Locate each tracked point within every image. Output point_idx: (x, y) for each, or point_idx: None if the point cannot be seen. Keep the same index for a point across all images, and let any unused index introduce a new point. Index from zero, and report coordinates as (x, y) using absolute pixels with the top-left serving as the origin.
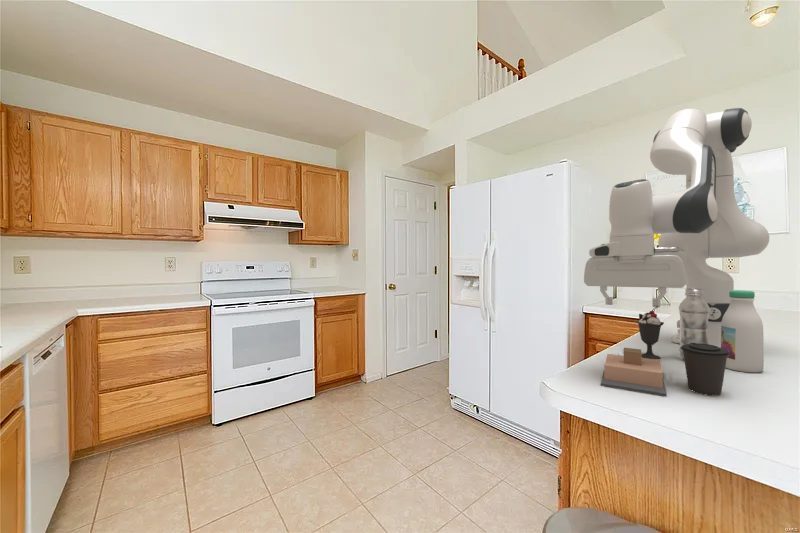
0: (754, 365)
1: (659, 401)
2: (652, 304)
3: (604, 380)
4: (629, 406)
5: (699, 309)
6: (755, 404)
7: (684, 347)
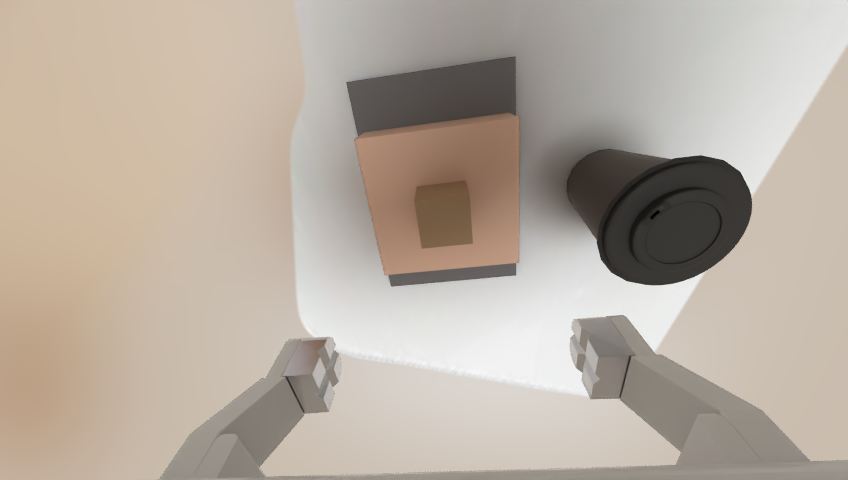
0: None
1: (501, 301)
2: (576, 333)
3: None
4: (456, 346)
5: None
6: None
7: (610, 253)
